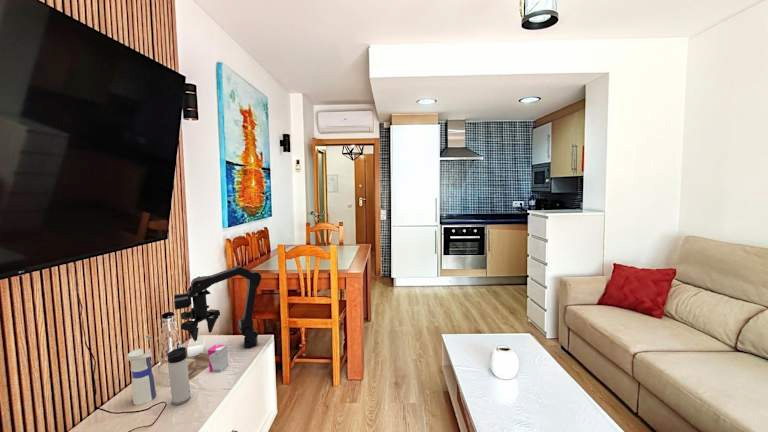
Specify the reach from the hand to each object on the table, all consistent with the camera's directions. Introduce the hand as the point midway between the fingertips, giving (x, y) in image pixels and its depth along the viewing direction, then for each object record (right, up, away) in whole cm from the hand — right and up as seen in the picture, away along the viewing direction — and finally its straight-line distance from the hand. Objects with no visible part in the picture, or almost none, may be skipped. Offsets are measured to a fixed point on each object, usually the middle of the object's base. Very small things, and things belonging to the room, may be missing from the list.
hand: (202, 336), depth 165 cm
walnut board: (0, -13, -6) cm, 14 cm away
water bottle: (-9, -15, -27) cm, 32 cm away
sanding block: (-2, -12, -12) cm, 17 cm away
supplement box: (+12, -13, -9) cm, 20 cm away
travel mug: (+7, -15, -29) cm, 34 cm away
